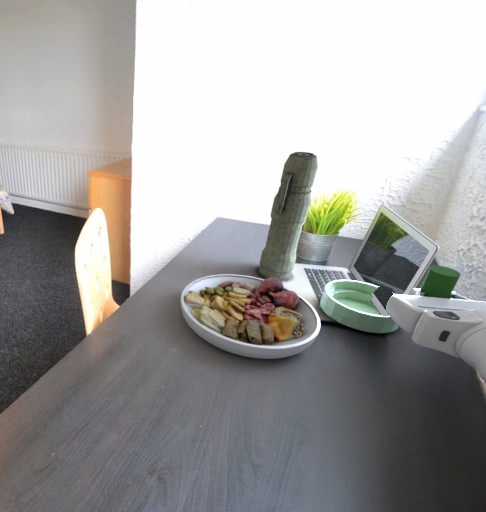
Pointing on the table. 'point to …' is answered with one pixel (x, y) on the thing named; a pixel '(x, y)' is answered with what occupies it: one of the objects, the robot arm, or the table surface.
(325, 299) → the bowl
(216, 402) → the table surface
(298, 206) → the thermos
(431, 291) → the green cylinder
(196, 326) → the bowl
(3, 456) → the table surface
